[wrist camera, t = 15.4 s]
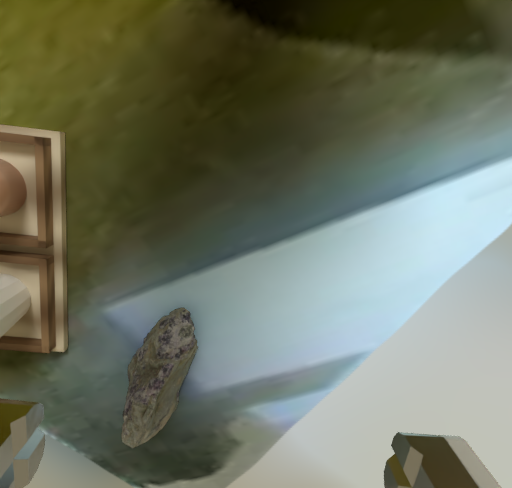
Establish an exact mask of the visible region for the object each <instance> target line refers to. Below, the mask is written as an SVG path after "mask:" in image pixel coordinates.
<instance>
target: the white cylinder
mask: <svg viewBox="0 0 512 488" xmlns="http://www.w3.org/2000/svg"><path fill="white" fill-rule="evenodd" d="M30 305H31V296H30V293H29V291H28V289H27V287H26V286H25V285H24V284H23V283H22V282H21V281H20V280H19V279H17V278H15V277H13V276H11V275H8V274H1V273H0V338H1V337H2V336H3V335H4V334H5V333H6V332H7V331H8V330H9V329H10V328H11V327H12V326H13V325H14V324H15V323H16V322H17V321H18V320H19V319H20V318H22V317H23V316H24V315H25V314H26V313H27V311H28V309H29V307H30Z"/></svg>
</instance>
